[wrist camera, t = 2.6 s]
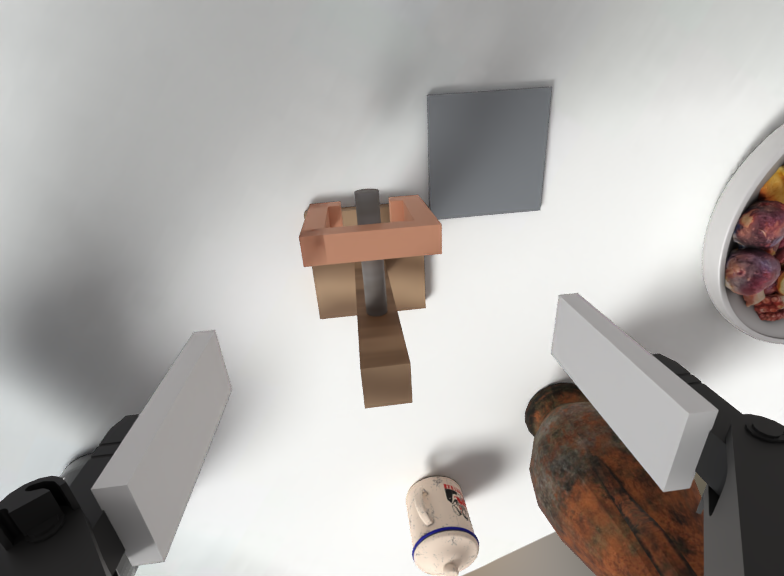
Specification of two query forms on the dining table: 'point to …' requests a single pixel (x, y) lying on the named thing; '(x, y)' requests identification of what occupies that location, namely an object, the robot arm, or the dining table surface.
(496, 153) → the coaster
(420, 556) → the teacup with lid
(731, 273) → the bowl
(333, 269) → the hook stand
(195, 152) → the dining table surface
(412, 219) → the c link
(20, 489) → the robot arm
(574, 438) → the pitcher
